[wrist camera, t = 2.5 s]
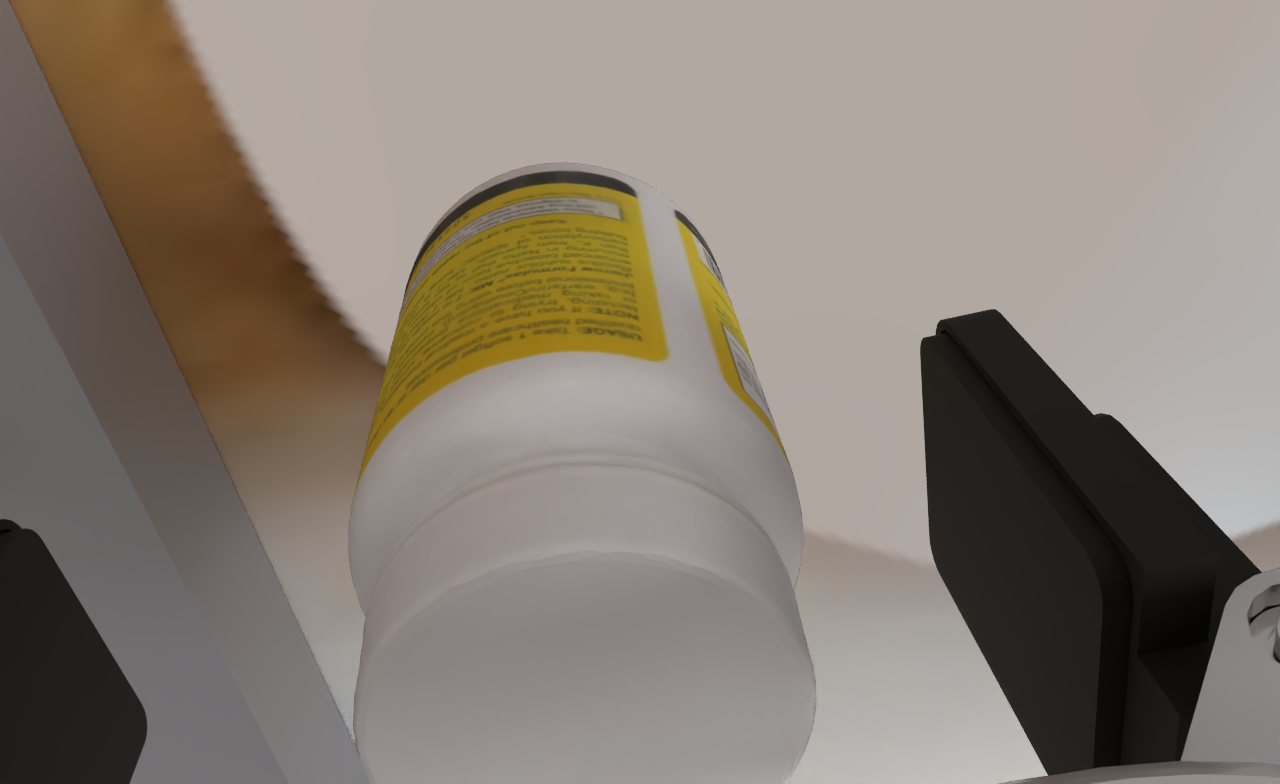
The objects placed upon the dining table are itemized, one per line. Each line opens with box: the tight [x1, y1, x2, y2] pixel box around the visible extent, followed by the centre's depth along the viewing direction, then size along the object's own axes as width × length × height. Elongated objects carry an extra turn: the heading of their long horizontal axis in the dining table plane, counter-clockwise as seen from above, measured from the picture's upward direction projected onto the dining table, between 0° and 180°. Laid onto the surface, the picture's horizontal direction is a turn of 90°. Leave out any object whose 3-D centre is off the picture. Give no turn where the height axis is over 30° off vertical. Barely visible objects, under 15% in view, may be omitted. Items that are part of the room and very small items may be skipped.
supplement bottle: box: [349, 163, 816, 784], centre depth 13 cm, size 5×5×8 cm
